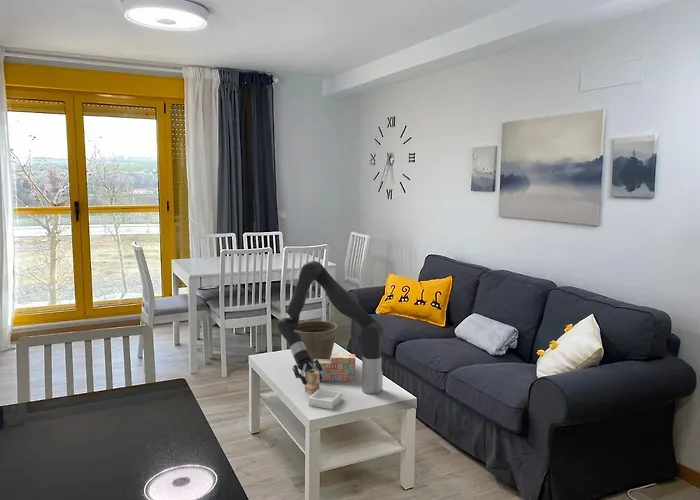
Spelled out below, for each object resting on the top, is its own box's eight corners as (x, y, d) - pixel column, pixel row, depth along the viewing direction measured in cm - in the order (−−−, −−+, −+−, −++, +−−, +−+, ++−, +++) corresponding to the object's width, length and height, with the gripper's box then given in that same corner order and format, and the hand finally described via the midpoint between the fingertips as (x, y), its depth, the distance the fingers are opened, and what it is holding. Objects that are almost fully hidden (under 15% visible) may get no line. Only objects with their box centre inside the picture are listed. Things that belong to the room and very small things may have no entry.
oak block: (313, 388, 270) (313, 368, 268) (319, 392, 266) (319, 371, 264) (304, 391, 267) (304, 371, 265) (310, 394, 263) (310, 374, 261)
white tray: (341, 399, 257) (341, 392, 257) (331, 409, 247) (331, 401, 246) (319, 395, 261) (319, 388, 261) (308, 405, 251) (308, 397, 250)
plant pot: (286, 360, 311) (286, 322, 308) (328, 354, 320) (327, 318, 317) (300, 375, 288) (300, 334, 285) (344, 368, 297) (344, 329, 294)
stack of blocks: (312, 380, 281) (312, 357, 279) (314, 375, 287) (314, 353, 285) (355, 381, 280) (355, 357, 278) (355, 376, 286) (355, 353, 285)
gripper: (290, 352, 265) (304, 382, 258) (315, 346, 274) (328, 375, 267) (284, 359, 270) (297, 389, 263) (309, 353, 279) (322, 382, 271)
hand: (313, 382), depth 265 cm, fingers open, 8 cm apart
